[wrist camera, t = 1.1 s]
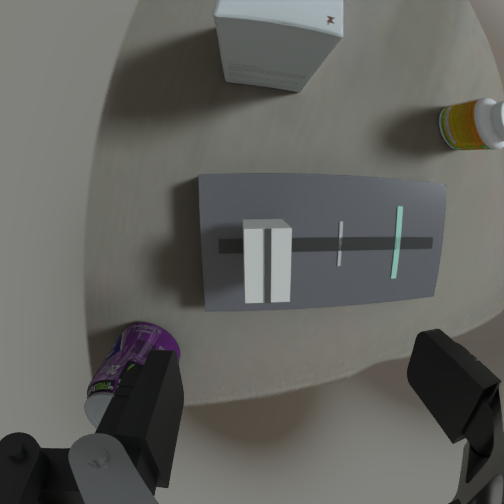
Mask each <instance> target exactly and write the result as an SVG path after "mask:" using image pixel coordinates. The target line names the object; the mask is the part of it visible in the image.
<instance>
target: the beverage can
mask: <svg viewBox="0 0 504 504" xmlns="http://www.w3.org/2000/svg"><path fill="white" fill-rule="evenodd" d="M150 350H175V351H176V353H177V357H178V363H179V361H180V349H179V346H178V344H177V342H176V340H175V339H174V338H173V337H172V335H171V334H170V333H168V332H167V331H166V330H164V329H163V328H161V327H159V326H157V325H154V324H151V323H135V324H132V325H130V326H128V327H127V328H126V329H125V330H124V331H123V332H122V334H121V335H120V337H119V338H118V340H117V341H116V343H115V344H114V346H113V347H112V349H111V351H110V352H109V354H108V355H107V357H106V358H105V360H104V362H103V363H102V365H101V366H100V368H99V370H98V371H97V373H96V374H95V376H94V378H93V379H92V381H91V382H90V384H89V386H88V390H87V400H86V402H85V406H84V408H85V413H86V415H87V418H88V419H89V420H90V422H91V423H92V425H94V427H95V428H98V426H99V424H100V421H101V419H102V417H103V415H104V413H105V411H106V409H107V407H108V405H109V403H110V401H111V399H112V397H114V393H115V391H116V388H117V387H118V384H119V383H120V381H121V379H122V377H123V375H124V373H125V372H127V371H128V370H129V369H130V368H131V367H133V366H134V365H135V364H139V365H144V363H145V361H146V359H147V356H148V354H149V352H150Z"/></svg>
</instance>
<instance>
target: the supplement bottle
mask: <svg viewBox="0 0 504 504" xmlns="http://www.w3.org/2000/svg"><path fill="white" fill-rule="evenodd" d="M439 128H440V132H441V134H442V137H443V139H444V140H445V142H446V143H447V144H448V145H449V146H450V147H451V148H453V149H456V150H479V149H501V148H502V147H504V102H495V101H494V100H492V99H490V98H481V99H476V100H472V101H467V102H463V103H458V104H454V105H450V106H447V107H445V108H444V109H443V110H442V111H441V113H440V116H439Z"/></svg>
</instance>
